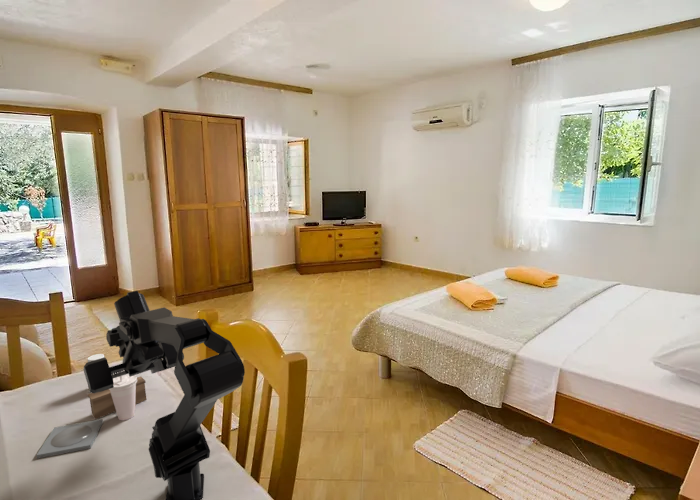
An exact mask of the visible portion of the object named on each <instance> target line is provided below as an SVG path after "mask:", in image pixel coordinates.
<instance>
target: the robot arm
mask: <svg viewBox="0 0 700 500" xmlns="http://www.w3.org/2000/svg"><path fill="white" fill-rule="evenodd" d="M114 308H115V311H116V314H117V316H118V317H117V318H118V319H119V322H118V325H117V326H116V327H113V328H111V329H110V330H107V332H106V342H107V344H108V346H109V347H110V348H111V347H118V348H119V349H118V354H119V358H122V361H121V363H120V364H119V363H118V364H115V365H113V366H110V365H109V362H108V359H107V357H105V356H104V358H101V359H97V360H94V361H91V362H88V361H87V362H85V364H84V365H83V368H82V369H83V372H84V377H85V380H86V383H87V387H89V388H88V391H89V390H90V392H91V393H97V392H102V391H105V390H108V389H110V388H113V387H114V386H113V384H114V383H113V379H114V378H117V377H120V376H123V375H127V374H129V376H130V377H131V376H134V375H135V376H137V375H140V374H142V373H145V372H148V371H150V373H151V374H156V373H159V372H162V371H166V370H169V369H171V368H174V370H173V372H174V374H173V375H174V376H175V378H176V381H177V382H178V384H179V386H180V388H181V390H182V392H183V394H184V395H183V397H182V399H181V400H180V402H179V404H178V406H177V407H176V410H175V411H174V412H171V413H169V414H166V415H164V416H162V417H160V418H157V420H156V421H155V424H154V426H152V430H153V431H152V433H151V438H149V444H148V446H149V447H148V452H149V456H150V458H151V459H150V460H151V462H152V466H153V469H154V477H155V478H158V479H161V478H162V481H164V482H166V481H167V482H166V483H167V488H166V490H167V491H166V495H165V500H200V499H202V498H203V499H204V486H205V474H204V473H201V467H200V466H201V465H200V463H201V462H203V461H204V460H207V459H208V458H210V455H211V450H210V447H209V443H208V442H207V439H206V437H205V435H204V432H203V429H202V427H201V425H202V424H203V422H204V420H205V419H206V418H207V416H208V414H209V412H211V410H212V408H213V407H214V406H215V404H216V403H217V401H218V400H219V399H221V398H223V397H225V396H227V395H229V394H231V393H232V392H234V391H236V390H237V389H239V388H241V386H242V385H243V383H244V380H245V379H244V378H245V377H244V376H245V373H246V372H245V365H244V361H243V360H242V358H241V357H240V355H239V353H238V352H237V350H236V348H235V347H234V345H233V344H232V342H231V341H230V340H229V339H228V338H226V337H224V336H222V335H220V334H219V333H217V332H215V331H214V330H213V329H212V328H211V326H210V325H209V323H208V322H207V319H205V318H188V317H181V316H174V315H173V312H172V310H170V309H169V308H167V307H160V308H155V309H152V310H151V309H150V308H149V305H148V303H147V299H146V297H145V296H144V294H143V293H139V291H138V290H134V291H130V292H127V293H126V294H125V295H123V296H122V297H120V298H118V299H117V300H116V301H114ZM200 344H203V345H204V346H205V347H207V348H208V349H210V350H212V351H214V352H215V353H217V354H215V355H213V356H209V357H207V358H203V359H200V360H198V361H196V362H195V361H194V362H192V363H188V364H186V365H185V363H184V359H185V355H184V354H185V353H184V352H183V350H184V349H187V348H191V347H193V346H194V347H195V346H197V345H200ZM90 392H89V393H90ZM203 499H202V500H203Z"/></svg>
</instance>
